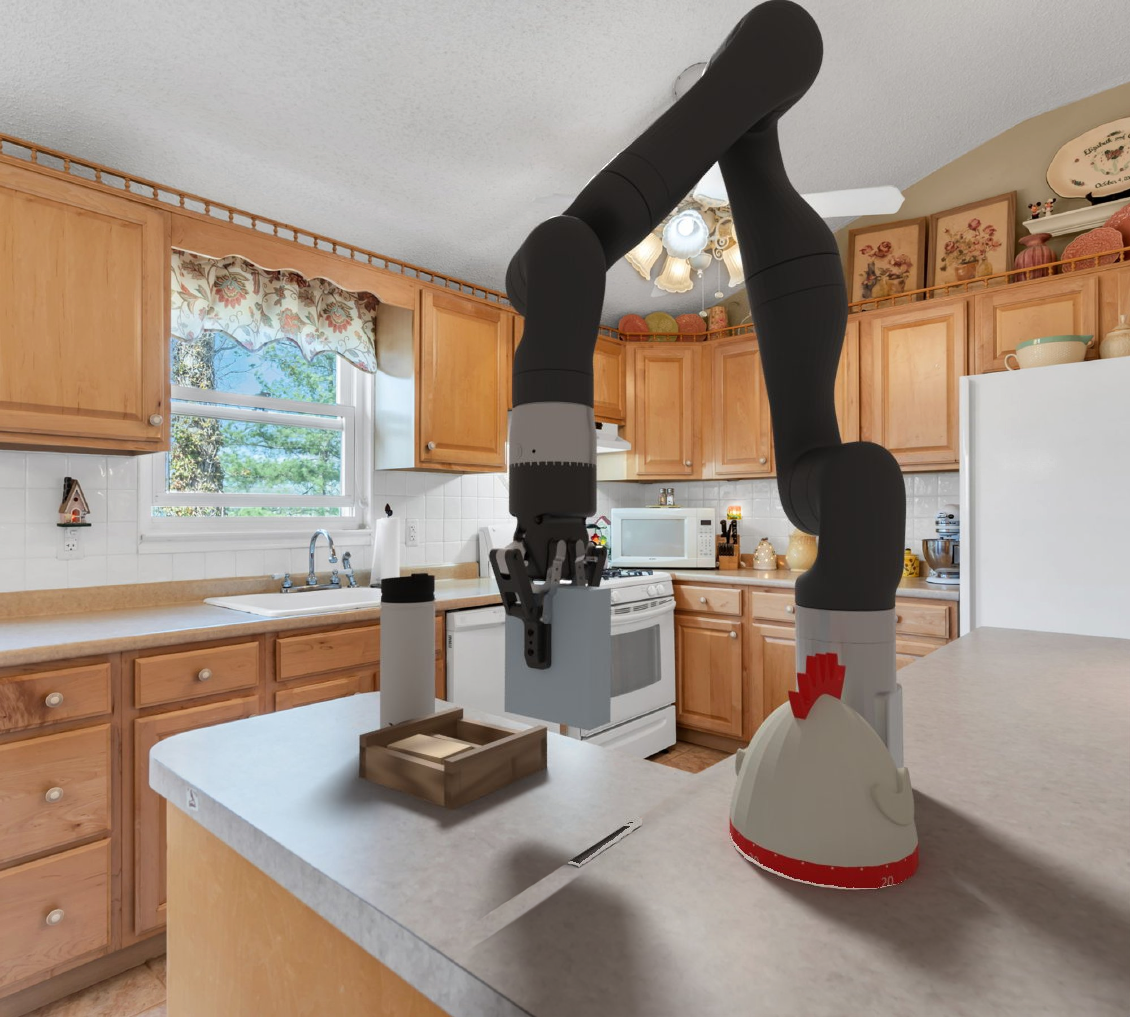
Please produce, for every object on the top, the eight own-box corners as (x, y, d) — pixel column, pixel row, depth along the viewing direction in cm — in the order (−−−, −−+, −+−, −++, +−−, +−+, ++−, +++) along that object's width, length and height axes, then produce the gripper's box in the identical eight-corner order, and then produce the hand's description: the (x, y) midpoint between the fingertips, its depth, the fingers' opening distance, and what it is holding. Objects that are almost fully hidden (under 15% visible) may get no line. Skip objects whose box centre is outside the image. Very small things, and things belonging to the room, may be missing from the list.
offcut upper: (471, 762, 66) (471, 745, 66) (440, 775, 62) (440, 758, 62) (418, 749, 70) (418, 734, 70) (387, 761, 66) (387, 745, 66)
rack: (547, 776, 69) (547, 726, 69) (452, 820, 59) (452, 762, 59) (456, 751, 77) (456, 707, 77) (359, 786, 67) (359, 734, 67)
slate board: (610, 722, 56) (610, 587, 57) (589, 730, 54) (589, 590, 54) (527, 704, 62) (527, 582, 62) (504, 711, 60) (505, 584, 60)
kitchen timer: (944, 845, 54) (940, 654, 55) (874, 914, 45) (870, 682, 45) (782, 796, 64) (779, 635, 65) (695, 844, 55) (693, 654, 55)
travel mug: (396, 757, 75) (396, 574, 76) (370, 743, 80) (371, 572, 81) (446, 745, 79) (446, 572, 80) (419, 732, 84) (419, 569, 85)
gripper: (533, 451, 51) (533, 686, 51) (633, 465, 62) (633, 657, 62) (462, 457, 56) (461, 672, 55) (567, 470, 67) (567, 648, 66)
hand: (552, 663), depth 58 cm, fingers closed on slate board, 3 cm apart
